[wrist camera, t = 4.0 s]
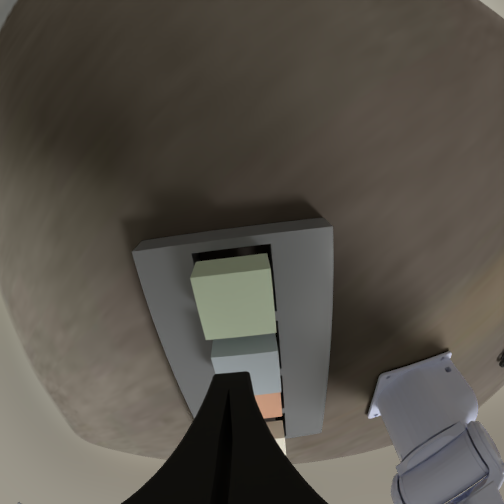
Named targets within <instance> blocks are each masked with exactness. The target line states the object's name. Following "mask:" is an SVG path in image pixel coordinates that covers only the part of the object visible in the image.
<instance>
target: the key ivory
mask: <svg viewBox="0 0 504 504" xmlns="http://www.w3.org/2000/svg"><path fill="white" fill-rule="evenodd" d="M264 420H265V422H266V424H267V426H268V428H269V430H270V431H271V433H272V435H273V437H274V438H275V440H276V442H277V443H278V445H279V446H280V448H281V449H282V451H283V453H284V454H285V455H286V447H285V435H284V428H283V421H282V420H280V421H276V420H275V417H273V418H264Z"/></svg>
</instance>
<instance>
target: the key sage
mask: <svg viewBox="0 0 504 504" xmlns="http://www.w3.org/2000/svg"><path fill="white" fill-rule="evenodd" d="M190 280H191V284H192V288H193V292H194V296H195V300H196V304H197V308H198V312H199V316H200V320H201V324H202V328H203V331H204V335H205V339H206V340H213V339H225V338H235V337H245V336H254V335H262V334H271V333H277V332H276V321H275V310H274V299H273V288H272V278H271V268H270V264H269V259H268V255H267V253H264V254H256V255H247V256H239V257H231V258H223V259H215V260H206V261H198V262H196V263H195V266H194V268H193V271H192V274H191V277H190Z"/></svg>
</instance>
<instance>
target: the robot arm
mask: <svg viewBox="0 0 504 504" xmlns="http://www.w3.org/2000/svg"><path fill="white" fill-rule="evenodd" d="M451 355H452V353H451V352H450V351H448V352H445V353H442V354H440V355H437V356H434V357H432V358H429V359H426V360H423V361H420V362H417V363H414V364H411V365H408V366H405V367H402V368H399V369H395V370H392V371H389V372H385V373H382V374H381V375H380V376H379V378H378V382H377V385H376V389H375V392H374V396H373V399H372V402H371V405H370V408H369V412H368V415H367V416H368V418H374V417H377V416H382V419H383V421H384V423H385V426H386V428H387V430H388V433H389V435H390V437H391V440H392V442H393V445H394V447H395V450H396V452H397V454H398V457H399V460H400V462H401V463H400V464H399V465H397V466H396V469H397V472H398V473H397V474H396V475H395V476H394V478H393V481H392V485H391V496H392V500H393V503H394V504H444V503H445V502H447V501H449V500H450V499H452V498H454V497H456V496H457V495H459V494H460V493H462V492H463V491H465V490H466V489H468V488H469V487H470V486H472V485H474V484H475V483H476V482H478V481H479V480H481V479H482V478H483V477H485V476H486V475H487V476H486V477H485V478H483V480H481V481H480V482H478V483H477V484H475V485H474V486H473V487H471V488H470V489H468V490H467V491H465V492H464V493H462V494H461V495H459V496H458V497H456V498H454V499H453V500H451V501H449V502H448V503H446V504H504V501H503V499H502V497H501V495H500V492H499V489H500V487H501V485H502V483H503V481H504V463H503V461H502V459H501V456H500V453H499V451H498V449H497V447H496V445H495V443H494V442H493V440H492V438H491V437H490V435H489V433H488V432H487V431H486V429H485V428H484V427H483V425H482V424H481V423H480V422H479V421H475V420H476V417H477V414H478V402H477V398H476V395H475V393H474V391H473V389H472V388H471V387H470V385H469V384H468V382H467V381H466V380H465V378H464V377H463V376H462V374H461V373H460V372H459V370H458V369H457V368H456V366H455V365H454V364H453V362H452V361H451V360H450V357H451ZM18 504H21V503H20V502H18ZM121 504H328V503H327V502H326V501H325V500H323V498H321V497H320V496H319V495H318V494H317V493H316V492H315V490H314V489H312V487H311V486H310V485H309V484H308V483H307V482H306V481H305V480H304V478H303V477H302V476H301V475H300V474H299V472H298V471H297V470H296V469H295V467H294V466H293V465H292V464H291V462H290V461H289V460H288V458H287V457H286V455H285V454H284V453H283V451H282V449H281V448H280V446H279V445H278V443H277V442H276V440H275V438H274V437H273V435H272V433H271V431H270V430H269V428H268V426H267V424H266V422H265V420H264V418H263V416H262V413H261V411H260V409H259V407H258V404H257V402H256V399H255V396H254V391H253V386H252V381H251V376H250V373H249V372H247V371H243V372H232V373H220V374H215V375H214V376H213V378H212V381H211V384H210V386H209V389H208V391H207V394H206V396H205V398H204V400H203V403H202V405H201V407H200V409H199V411H198V413H197V415H196V417H195V419H194V421H193V422H192V424H191V426H190V427H189V429H188V431H187V433H186V434H185V436H184V437H183V439H182V441H181V442H180V444H179V445H178V446H177V448H176V449H175V451H174V452H173V453H172V455H171V456H170V457H169V458H168V460H167V461H166V462H165V463H164V465H163V466H162V467H161V468H160V469H159V470H158V471H157V473H156V474H155V475H154V476H153V477H152V478H151V479H150V480H149V481H148V482H146V483H145V485H143V486H142V487H141V488H140V489H139V490H138V491H137V492H136V493H134V494H133V495H132V496H131V497H130V498H128V499H127V500H125V501H124V502H123V503H121Z"/></svg>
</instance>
